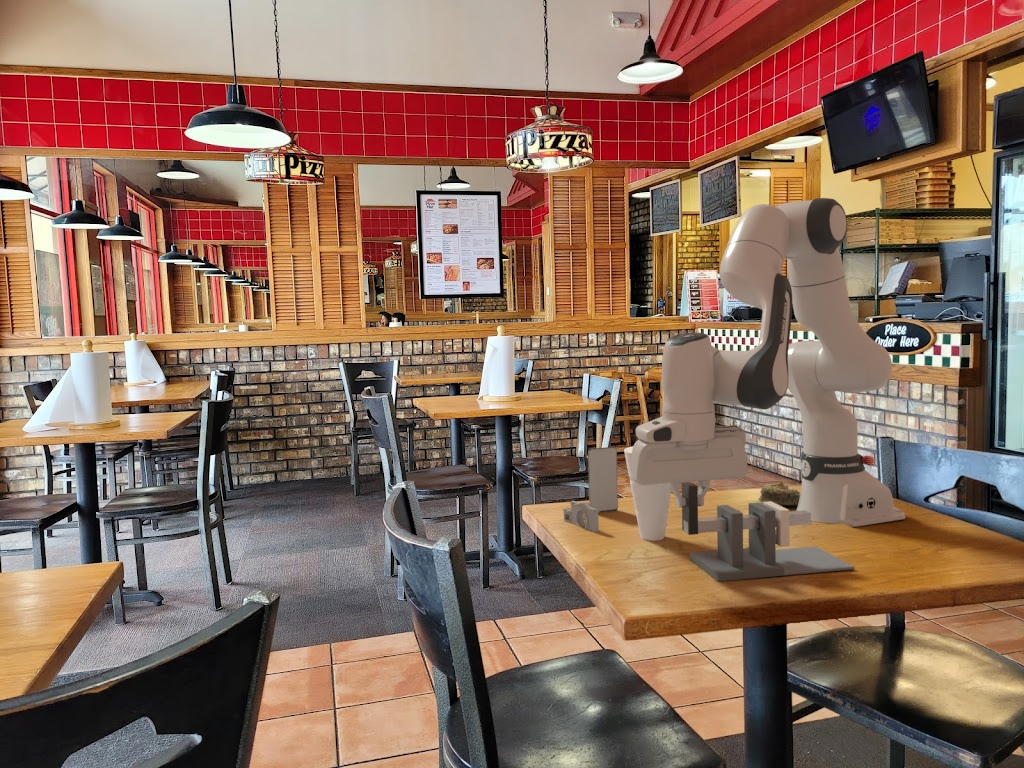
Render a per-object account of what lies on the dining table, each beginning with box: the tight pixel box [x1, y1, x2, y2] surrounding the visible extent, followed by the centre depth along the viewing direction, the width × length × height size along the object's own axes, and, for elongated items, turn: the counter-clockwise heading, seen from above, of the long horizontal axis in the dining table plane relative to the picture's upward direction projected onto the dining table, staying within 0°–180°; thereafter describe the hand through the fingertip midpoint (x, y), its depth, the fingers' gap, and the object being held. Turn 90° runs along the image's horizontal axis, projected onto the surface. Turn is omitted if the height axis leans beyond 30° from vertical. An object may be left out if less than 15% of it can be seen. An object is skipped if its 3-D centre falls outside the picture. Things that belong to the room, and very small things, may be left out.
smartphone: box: [587, 446, 619, 513], centre depth 173 cm, size 7×1×15 cm, turn 106°
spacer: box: [762, 501, 790, 548], centre depth 133 cm, size 2×6×6 cm, turn 9°
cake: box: [758, 479, 801, 506], centre depth 177 cm, size 10×10×5 cm
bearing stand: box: [689, 502, 785, 582], centre depth 132 cm, size 12×12×10 cm
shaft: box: [681, 482, 812, 536], centre depth 132 cm, size 23×3×8 cm, turn 99°
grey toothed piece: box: [562, 500, 601, 533], centre depth 161 cm, size 12×2×6 cm, turn 29°
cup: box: [623, 446, 672, 542], centre depth 152 cm, size 11×11×18 cm
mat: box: [776, 546, 855, 576], centre depth 135 cm, size 13×12×1 cm
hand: (689, 506), depth 131 cm, fingers closed on shaft, 2 cm apart
